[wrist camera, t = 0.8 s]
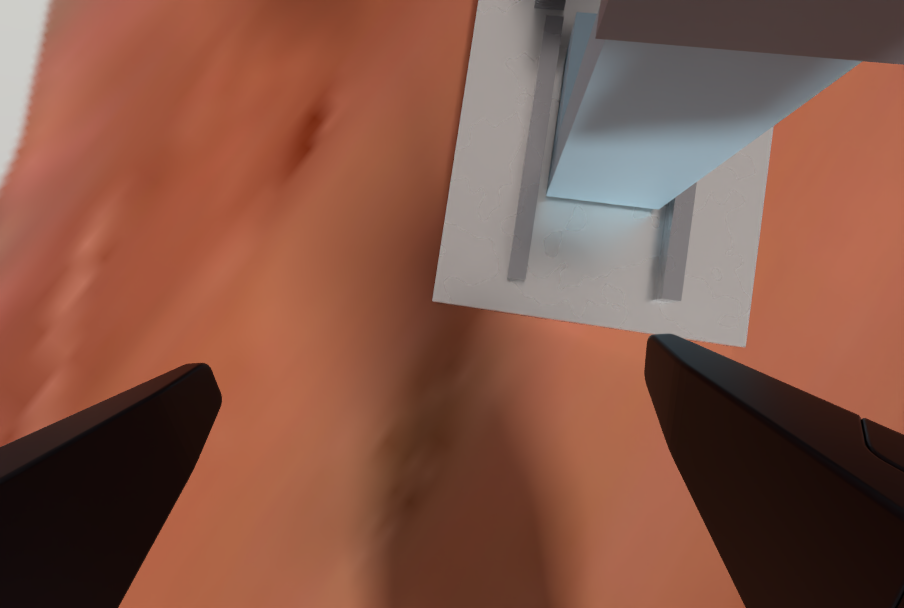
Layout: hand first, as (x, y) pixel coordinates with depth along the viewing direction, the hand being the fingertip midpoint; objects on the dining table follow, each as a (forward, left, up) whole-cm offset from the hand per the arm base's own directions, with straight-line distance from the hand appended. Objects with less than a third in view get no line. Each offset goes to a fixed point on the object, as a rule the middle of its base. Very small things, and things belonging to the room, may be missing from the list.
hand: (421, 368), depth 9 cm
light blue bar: (+5, -11, -12) cm, 16 cm away
